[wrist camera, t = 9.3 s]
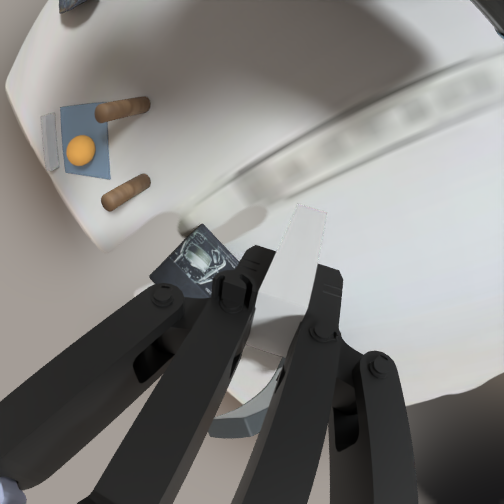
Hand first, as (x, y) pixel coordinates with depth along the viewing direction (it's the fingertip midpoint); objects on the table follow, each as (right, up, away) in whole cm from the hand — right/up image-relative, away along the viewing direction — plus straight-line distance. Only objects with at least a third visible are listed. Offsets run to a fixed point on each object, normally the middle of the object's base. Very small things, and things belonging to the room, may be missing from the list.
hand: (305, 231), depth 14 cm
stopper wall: (-44, +22, +29) cm, 57 cm away
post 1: (-19, +21, +21) cm, 35 cm away
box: (-9, -1, +32) cm, 33 cm away
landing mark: (-34, +19, +27) cm, 47 cm away
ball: (-32, +17, +25) cm, 44 cm away
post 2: (-20, +10, +28) cm, 36 cm away
